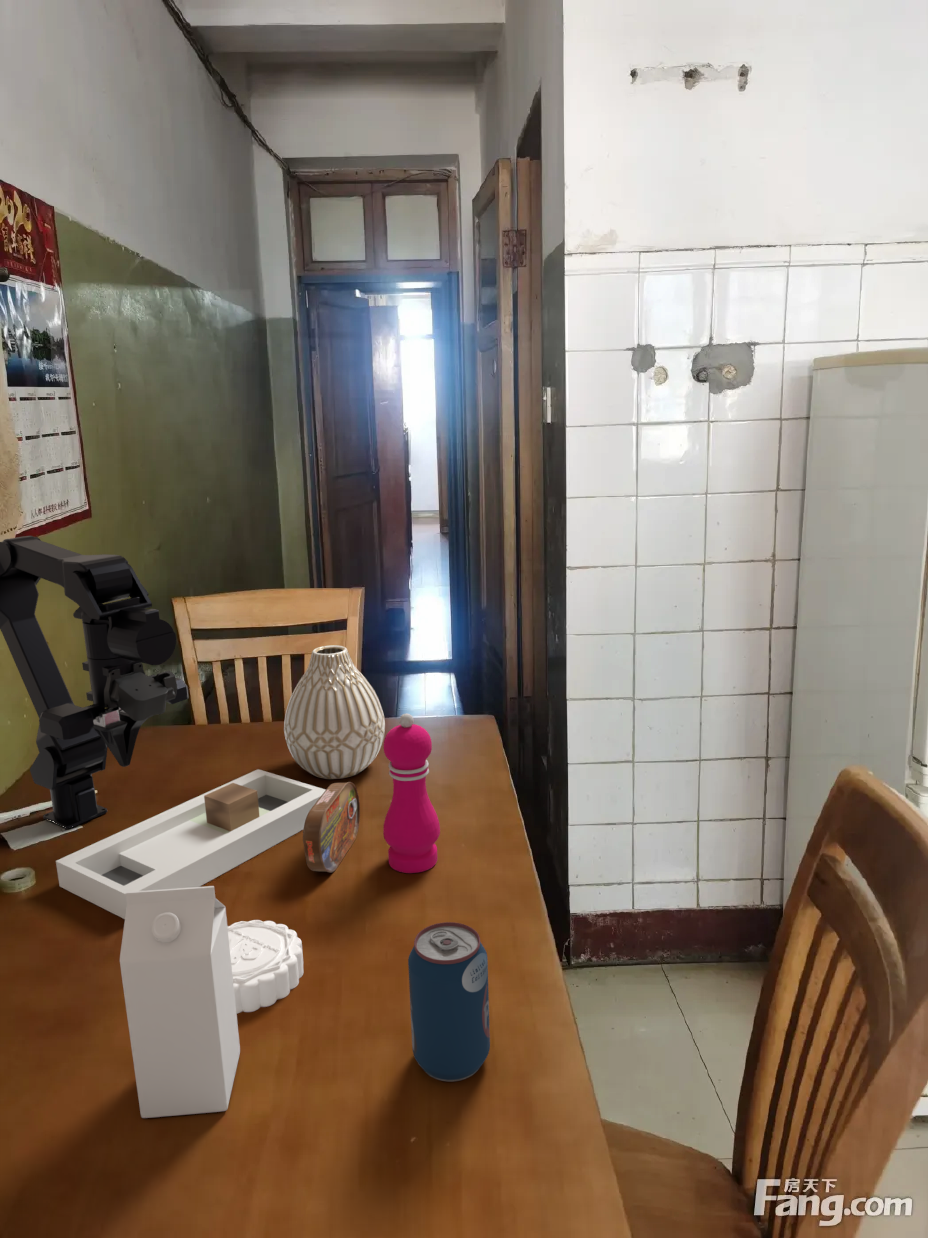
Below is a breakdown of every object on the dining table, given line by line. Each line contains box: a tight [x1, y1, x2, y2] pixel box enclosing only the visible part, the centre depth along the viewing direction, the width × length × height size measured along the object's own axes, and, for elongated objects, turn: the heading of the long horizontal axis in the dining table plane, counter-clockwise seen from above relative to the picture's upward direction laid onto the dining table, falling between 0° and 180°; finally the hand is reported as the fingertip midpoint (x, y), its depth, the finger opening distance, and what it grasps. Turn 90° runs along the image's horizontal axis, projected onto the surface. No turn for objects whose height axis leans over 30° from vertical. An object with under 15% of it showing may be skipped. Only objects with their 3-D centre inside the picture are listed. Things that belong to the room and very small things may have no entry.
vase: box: [283, 644, 386, 780], centre depth 143 cm, size 16×16×20 cm
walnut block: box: [204, 783, 260, 832], centre depth 123 cm, size 5×5×4 cm
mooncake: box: [227, 919, 304, 1014], centre depth 93 cm, size 12×12×4 cm
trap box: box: [55, 768, 326, 920], centre depth 120 cm, size 15×33×4 cm, turn 145°
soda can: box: [407, 921, 491, 1083], centre depth 79 cm, size 7×7×12 cm
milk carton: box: [119, 885, 241, 1119], centre depth 76 cm, size 7×7×19 cm
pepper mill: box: [382, 713, 441, 874], centre depth 113 cm, size 7×7×20 cm
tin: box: [302, 781, 361, 873], centre depth 117 cm, size 15×3×8 cm, turn 168°
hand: (124, 765), depth 120 cm, fingers closed
